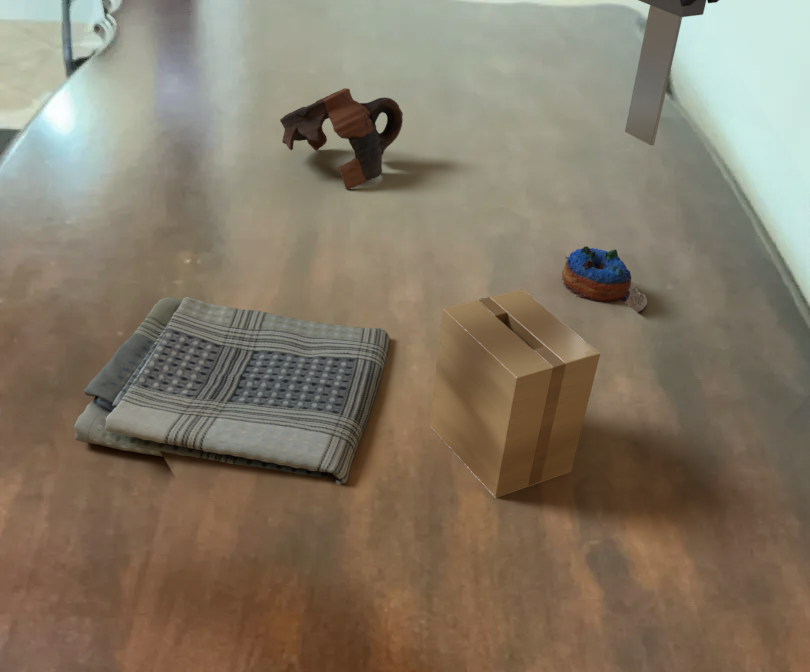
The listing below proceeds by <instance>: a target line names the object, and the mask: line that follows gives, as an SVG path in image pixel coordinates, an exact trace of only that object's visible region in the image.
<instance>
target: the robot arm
mask: <svg viewBox="0 0 810 672" xmlns="http://www.w3.org/2000/svg"><path fill="white" fill-rule="evenodd" d="M695 1H696V0H680V3H681V6H690V5H691V4H693V3H694V2H695ZM719 1H720V0H706V2H707V4H714V3H718V2H719Z"/></svg>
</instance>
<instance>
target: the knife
mask: <svg viewBox="0 0 810 672" xmlns="http://www.w3.org/2000/svg"><path fill="white" fill-rule="evenodd" d="M638 1H639V2H641V3H644V4H646V5H649V9H648V14H647V19H646V23H645V29H644V34H643V38H642V44H641V49H640V53H639V59H638V64H637V69H636V74H635V79H634V84H633V89H632V94H631V99H630V104H629V110H628V114H627V118H626V124H625V128H624V133H626V134H628V135H630V136H632V137H634V138H636V139H638V140H640V141H641V142H643V143H645V144H647V145H649V146H655V142H656V138H657V133H658V129H659V125H660V120H661V117H662V111H663V107H664V102H665V97H666V92H667V88H668V84H669V80H670V76H671V70H672V65H673V61H674V57H675V53H676V47H677V44H678V38H679V35H680V29H681V25H682V21H683V18H686V17H695V16H703V15H704V12H705V9H706V5H707V0H696V1H695V2H694V3H693V4H691V5H690V6H681V3H680V0H638Z"/></svg>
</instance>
